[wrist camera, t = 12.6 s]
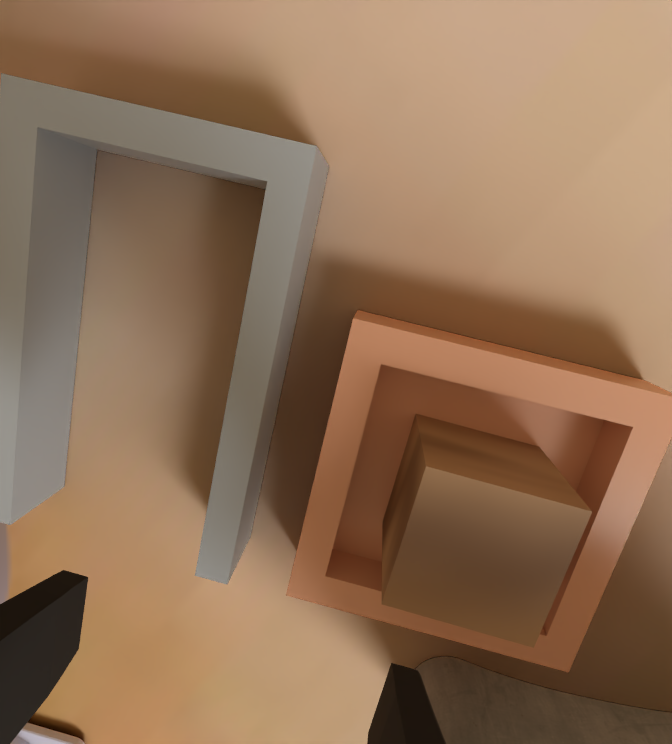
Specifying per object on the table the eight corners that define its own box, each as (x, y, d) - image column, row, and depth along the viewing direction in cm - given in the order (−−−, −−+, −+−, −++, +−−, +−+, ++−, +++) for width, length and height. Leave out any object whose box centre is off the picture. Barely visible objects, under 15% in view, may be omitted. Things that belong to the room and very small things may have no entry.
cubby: (250, 537, 20) (227, 584, 17) (37, 479, 20) (-21, 516, 17) (329, 166, 16) (316, 146, 13) (68, 105, 17) (1, 73, 14)
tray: (545, 621, 19) (568, 672, 17) (298, 554, 20) (286, 595, 17) (644, 380, 17) (687, 400, 14) (357, 309, 17) (353, 318, 15)
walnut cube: (498, 553, 18) (533, 647, 14) (382, 521, 18) (381, 604, 14) (539, 446, 17) (592, 511, 13) (415, 413, 17) (426, 466, 13)
